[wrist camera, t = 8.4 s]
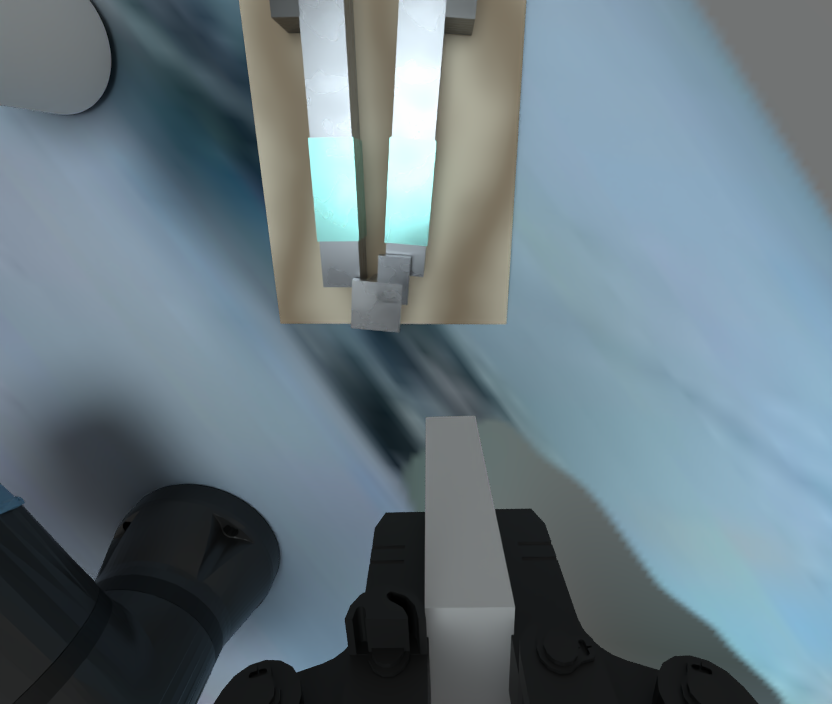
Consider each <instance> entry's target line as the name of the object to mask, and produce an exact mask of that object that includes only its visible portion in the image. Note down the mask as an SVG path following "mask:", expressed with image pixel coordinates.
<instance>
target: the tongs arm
mask: <svg viewBox="0 0 832 704" xmlns="http://www.w3.org/2000/svg"><path fill="white" fill-rule="evenodd" d="M476 6H477V0H399V10H398V29H397V48H396V68H395V87H394V106H393V125H392V137H390V143H389V163H388V182H387V202H386V222H385V242H384V243H386V254H379V256H378V277H377V280H369V279H358V278H354V279H353V280H352V305H351V328H356V329H367V330H378V331H389V332H400V323H401V308H402V305H407V304H408V296H409V282H410V276H417V277H423V276H424V271H425V262H426V250H427V246H428V241H429V232H430V220H431V208H432V197H433V185H434V173H435V162H436V150H437V141H436V132H437V120H438V108H439V96H440V84H441V72H442V61H443V49H444V37H445V33H446V34H460V35H472V32H473V27H474V22H475V16H476Z"/></svg>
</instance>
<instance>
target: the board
mask: <svg viewBox="0 0 832 704" xmlns="http://www.w3.org/2000/svg"><path fill="white" fill-rule="evenodd" d="M239 3H240V11H241V19H242V27H243V35H244V42H245V50H246V58H247V66H248V73H249V81H250V89H251V97H252V104H253V112H254V120H255V128H256V136H257V143H258V151H259V159H260V167H261V174H262V182H263V190H264V198H265V206H266V213H267V221H268V229H269V237H270V244H271V252H272V260H273V268H274V275H275V283H276V291H277V299H278V307H279V314H280V322H281V324H351V305H352V287H323V277H322V266H321V255H320V244H319V242H317V232H316V221H315V210H314V199H313V189H312V178H311V167H310V156H309V145H308V138H310V132H309V121H308V110H307V99H306V88H305V77H304V66H303V55H302V43H301V33H287V32H286V31H285V30H284V29H283V28H282V27H281V26H280V25H279V24H278V23H277V22H276V21H274V20H273V19H272V18H271V11H270V2H269V0H239ZM398 10H399V0H353V13H354V32H355V50H356V69H357V88H358V107H359V125H360V140H361V141H362V153H363V173H364V192H365V211H366V230H367V235H366V236H365V238H366V257H367V276H368V278H367V279H369V278H370V277H371V276H373V275H374V274H376V273H378V256H379V254H386V243H384V242H385V222H386V202H387V182H388V163H389V143H390V137H392V125H393V106H394V87H395V68H396V48H397V29H398ZM525 12H526V0H477V6H476V16H475V22H474V27H473V32H472V35H460V34H446V33H445V37H444V49H443V61H442V72H441V84H440V96H439V108H438V120H437V132H436V141H437V150H436V162H435V173H434V185H433V197H432V208H431V220H430V232H429V241H428V246H427V250H426V262H425V271H424V276H423V277H417V276H410V282H409V296H408V304H407V305H402V308H401V323H400V324H506V320H507V304H508V287H509V271H510V255H511V239H512V223H513V206H514V190H515V174H516V158H517V142H518V125H519V109H520V93H521V77H522V60H523V44H524V28H525Z"/></svg>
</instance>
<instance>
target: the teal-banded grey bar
mask: <svg viewBox="0 0 832 704" xmlns="http://www.w3.org/2000/svg"><path fill="white" fill-rule="evenodd" d="M269 2H270V11H271V18H272V19H273V20H274V21H276V22H277V23H278V24H279V25H280V26H281V27H282V28H283V29H284V30H285V31H286V32H287V33H301V43H302V55H303V66H304V77H305V88H306V99H307V110H308V121H309V132H310V138H308V145H309V156H310V167H311V178H312V189H313V199H314V210H315V221H316V232H317V242H319V244H320V255H321V266H322V277H323V287H352V280H353V279H354V278H358V279H367V278H368V276H367V257H366V238H365V236H366V235H367V230H366V211H365V192H364V173H363V153H362V141H361V140H360V125H359V107H358V88H357V69H356V50H355V32H354V13H353V0H269ZM377 277H378V273H376V274H374V275H373V276H371V277H370V278H369V280H377Z"/></svg>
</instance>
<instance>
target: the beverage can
mask: <svg viewBox="0 0 832 704" xmlns="http://www.w3.org/2000/svg"><path fill="white" fill-rule="evenodd" d="M110 72H111V51H110V45H109V40H108V36H107V33H106V30H105V27H104V25H103V23H102V20H101V18H100V16H99V14H98V13H97V11H96V9H95V8H94V6H93V5H92V3H91V2H90V0H0V105H1V106H8V107H14V108H20V109H27V110H33V111H39V112H46V113H52V114H59V115H71V114H77V113H80V112H83V111H85V110H87V109H88V108H90V107H91V106H93V105H94V104H95V103H96V102H97V101H98V100H99V99H100V97H101V96H102V94H103V93H104V91H105V89H106V87H107V84H108V81H109V77H110Z"/></svg>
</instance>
